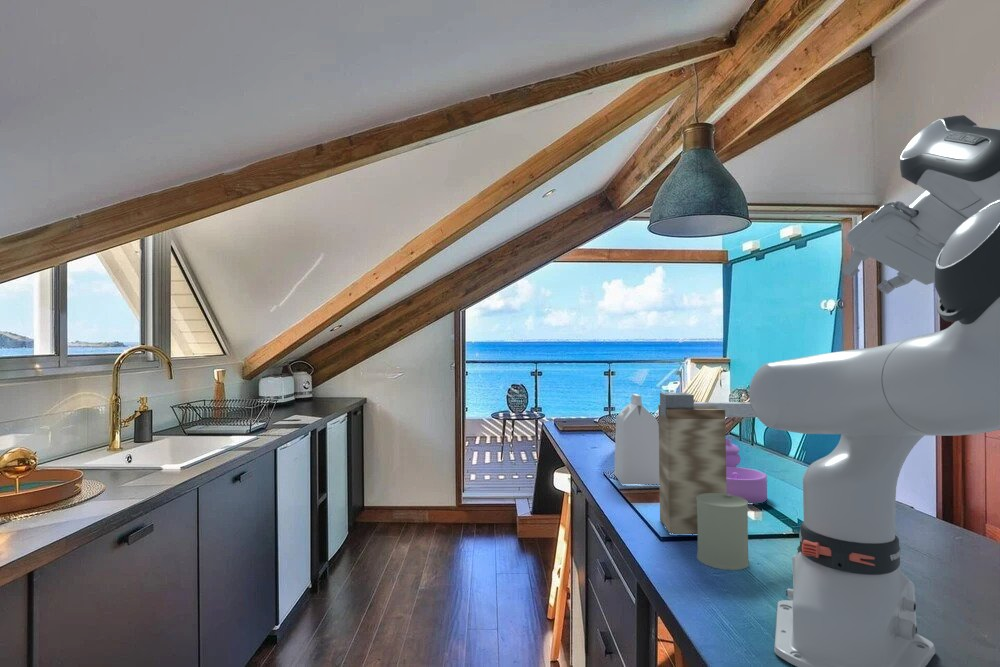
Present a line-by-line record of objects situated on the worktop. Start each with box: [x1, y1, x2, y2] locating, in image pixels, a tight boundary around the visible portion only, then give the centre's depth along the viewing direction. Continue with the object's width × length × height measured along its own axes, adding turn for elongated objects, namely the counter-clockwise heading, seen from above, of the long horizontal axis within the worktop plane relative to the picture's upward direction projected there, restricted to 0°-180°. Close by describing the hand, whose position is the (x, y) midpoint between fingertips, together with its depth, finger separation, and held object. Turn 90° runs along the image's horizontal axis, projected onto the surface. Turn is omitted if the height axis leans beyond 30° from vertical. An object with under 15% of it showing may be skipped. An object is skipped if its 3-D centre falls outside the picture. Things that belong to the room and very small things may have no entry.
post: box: [658, 404, 727, 535], centre depth 119 cm, size 12×10×27 cm
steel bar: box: [659, 392, 757, 418], centre depth 119 cm, size 22×6×5 cm, turn 85°
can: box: [696, 493, 751, 571], centre depth 101 cm, size 9×9×12 cm
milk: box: [613, 393, 660, 484], centre depth 161 cm, size 12×12×26 cm
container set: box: [726, 438, 768, 503], centre depth 148 cm, size 25×15×13 cm, turn 165°
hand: (864, 282), depth 96 cm, fingers open, 8 cm apart
